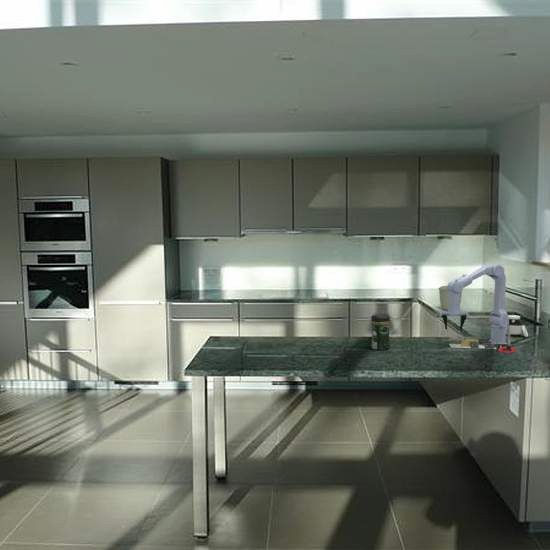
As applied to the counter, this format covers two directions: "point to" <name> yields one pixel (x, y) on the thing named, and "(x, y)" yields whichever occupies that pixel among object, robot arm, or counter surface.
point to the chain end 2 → (488, 344)
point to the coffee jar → (380, 332)
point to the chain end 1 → (474, 345)
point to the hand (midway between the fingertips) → (453, 329)
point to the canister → (445, 297)
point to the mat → (465, 347)
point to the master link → (468, 342)
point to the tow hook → (508, 344)
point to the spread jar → (516, 326)
